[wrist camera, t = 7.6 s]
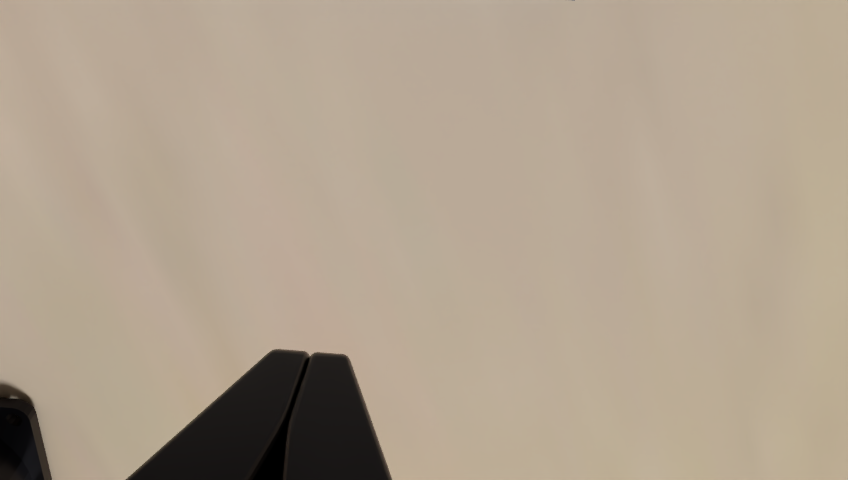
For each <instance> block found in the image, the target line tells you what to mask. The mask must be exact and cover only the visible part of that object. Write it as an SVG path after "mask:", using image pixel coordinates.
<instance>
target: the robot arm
mask: <svg viewBox="0 0 848 480" xmlns="http://www.w3.org/2000/svg"><path fill="white" fill-rule="evenodd" d="M15 414H16V415H15ZM17 415H18V416H17ZM0 480H52V478H51V474H50V470H49V465H48V461H47V457H46V453H45V448H44V444H43V440H42V436H41V432H40V427H39V423H38V419H37V415H36V411H35V409H34V408H33V407H32V406H31V405H30V404H29V403H27V402H25V401H23V400H19V399H9V398H0ZM126 480H392V478H391V475H390V472H389V469H388V466H387V464H386V461H385V458H384V455H383V452H382V449H381V447H380V444H379V441H378V438H377V435H376V432H375V430H374V427H373V424H372V421H371V418H370V415H369V413H368V410H367V407H366V404H365V401H364V398H363V396H362V393H361V390H360V387H359V384H358V381H357V379H356V376H355V373H354V370H353V367H352V364H351V362H350V359H349V358H348V356H346V355H344V354H334V353H320V352H316V353H314V354H312V355H311V356H309V354H308V353H307V352H305V351H295V350H282V349H276V350H272V351H270V352H269V353H268V354H267V355H266V356H264V357H263V358H262V359H261V360H260V361H259V362H258V363H257V364H255V365H254V366H253V367H252V368H251V369H250V370H249V371H248V372H246V373H245V374H244V375H243V376H242V377H241V378H240V379H239V380H237V381H236V382H235V383H234V384H233V385H232V386H231V387H230V388H228V389H227V390H226V391H225V392H224V393H223V394H222V395H221V396H219V397H218V398H217V399H216V400H215V401H214V402H213V403H212V404H210V405H209V406H208V407H207V408H206V409H205V410H204V411H203V412H201V413H200V414H199V415H198V416H197V417H196V418H195V419H194V420H192V421H191V422H190V423H189V424H188V425H187V426H186V427H185V428H183V429H182V430H181V431H180V432H179V433H178V434H177V435H176V436H174V437H173V438H172V439H171V440H170V441H169V442H168V443H167V444H165V445H164V446H163V447H162V448H161V449H160V450H159V451H158V452H156V453H155V454H154V455H153V456H152V457H151V458H150V459H149V460H147V461H146V462H145V463H144V464H143V465H142V466H141V467H140V468H138V469H137V470H136V471H135V472H134V473H133V474H132V475H131V476H129V477H128V478H127V479H126Z"/></svg>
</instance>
